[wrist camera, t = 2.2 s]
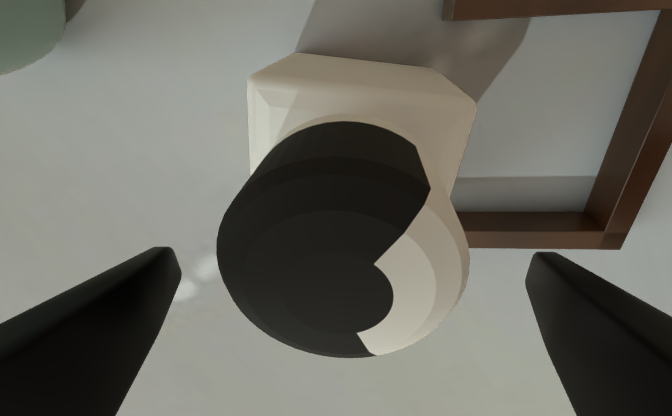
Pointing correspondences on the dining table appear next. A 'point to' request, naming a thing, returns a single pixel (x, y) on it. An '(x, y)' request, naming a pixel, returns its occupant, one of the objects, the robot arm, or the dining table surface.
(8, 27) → the cup
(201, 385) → the dining table surface
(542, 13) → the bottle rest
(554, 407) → the dining table surface
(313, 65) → the medicine bottle
